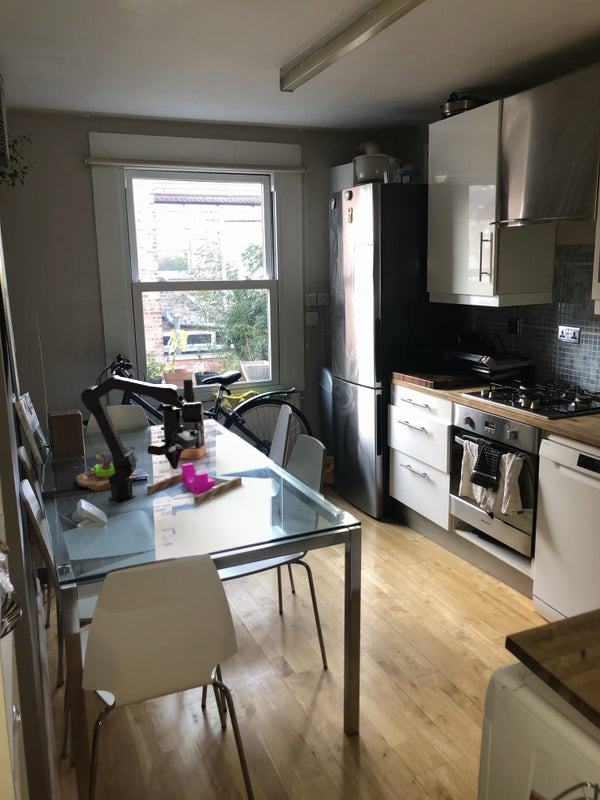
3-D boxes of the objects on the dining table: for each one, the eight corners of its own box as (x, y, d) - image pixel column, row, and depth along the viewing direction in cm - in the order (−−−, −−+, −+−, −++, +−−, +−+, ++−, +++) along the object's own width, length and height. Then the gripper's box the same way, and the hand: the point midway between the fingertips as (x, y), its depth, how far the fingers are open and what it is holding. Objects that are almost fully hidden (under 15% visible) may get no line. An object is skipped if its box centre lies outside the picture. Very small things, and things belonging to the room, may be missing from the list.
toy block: (215, 493, 222) (214, 472, 220) (198, 496, 219) (197, 475, 217) (199, 481, 235) (198, 461, 233) (182, 484, 231) (181, 464, 230)
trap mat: (227, 488, 226) (227, 486, 226) (186, 479, 236) (186, 478, 236) (238, 483, 231) (238, 482, 231) (196, 475, 241) (196, 474, 241)
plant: (66, 483, 235) (63, 454, 233) (111, 470, 250) (109, 442, 248) (98, 494, 223) (96, 463, 220) (144, 480, 238) (142, 450, 235)
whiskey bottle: (207, 452, 271) (203, 377, 265) (199, 459, 261) (195, 381, 255) (183, 451, 273) (179, 377, 267) (175, 458, 263) (170, 381, 257)
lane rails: (197, 504, 210) (197, 496, 210) (147, 493, 222) (146, 485, 222) (241, 483, 230) (241, 476, 230) (193, 474, 242) (193, 466, 242)
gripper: (170, 432, 201) (173, 480, 204) (209, 420, 217) (211, 465, 220) (144, 428, 207) (148, 475, 210) (184, 416, 222) (186, 460, 225)
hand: (174, 468), depth 216 cm, fingers closed
